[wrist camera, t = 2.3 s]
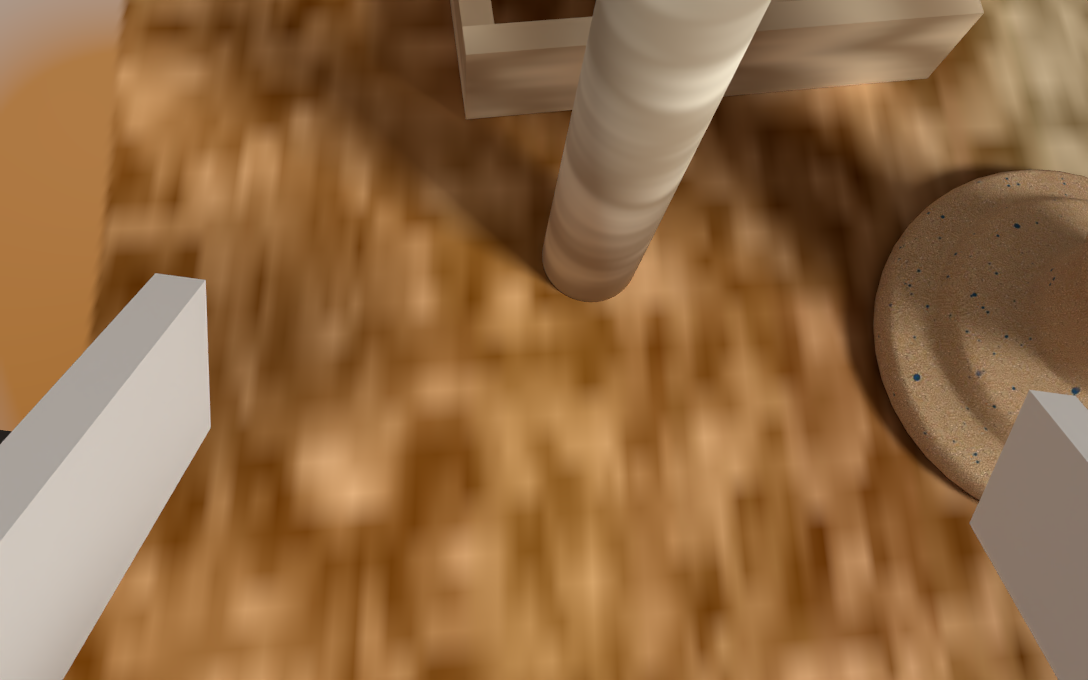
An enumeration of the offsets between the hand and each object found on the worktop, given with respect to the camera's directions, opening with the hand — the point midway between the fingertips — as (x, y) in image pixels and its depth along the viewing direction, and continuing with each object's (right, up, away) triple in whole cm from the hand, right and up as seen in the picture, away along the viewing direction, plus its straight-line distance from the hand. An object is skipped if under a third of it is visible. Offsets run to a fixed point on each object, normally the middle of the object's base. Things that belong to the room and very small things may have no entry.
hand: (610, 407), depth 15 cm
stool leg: (0, +4, +17) cm, 17 cm away
